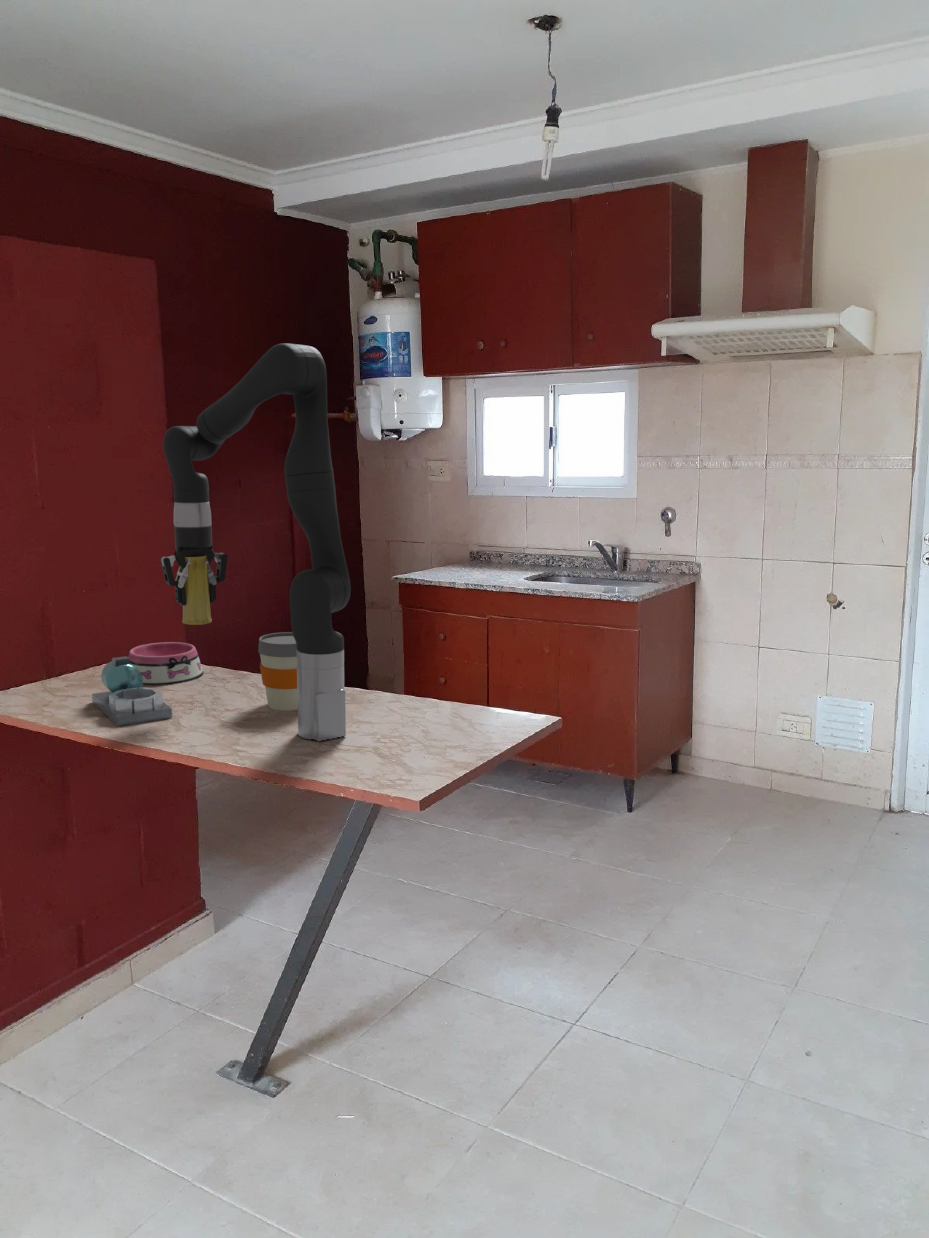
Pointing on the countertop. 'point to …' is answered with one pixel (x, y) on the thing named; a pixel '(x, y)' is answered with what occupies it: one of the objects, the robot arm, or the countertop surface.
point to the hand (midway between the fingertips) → (196, 603)
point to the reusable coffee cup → (279, 670)
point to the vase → (196, 593)
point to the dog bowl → (166, 663)
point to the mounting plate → (129, 695)
